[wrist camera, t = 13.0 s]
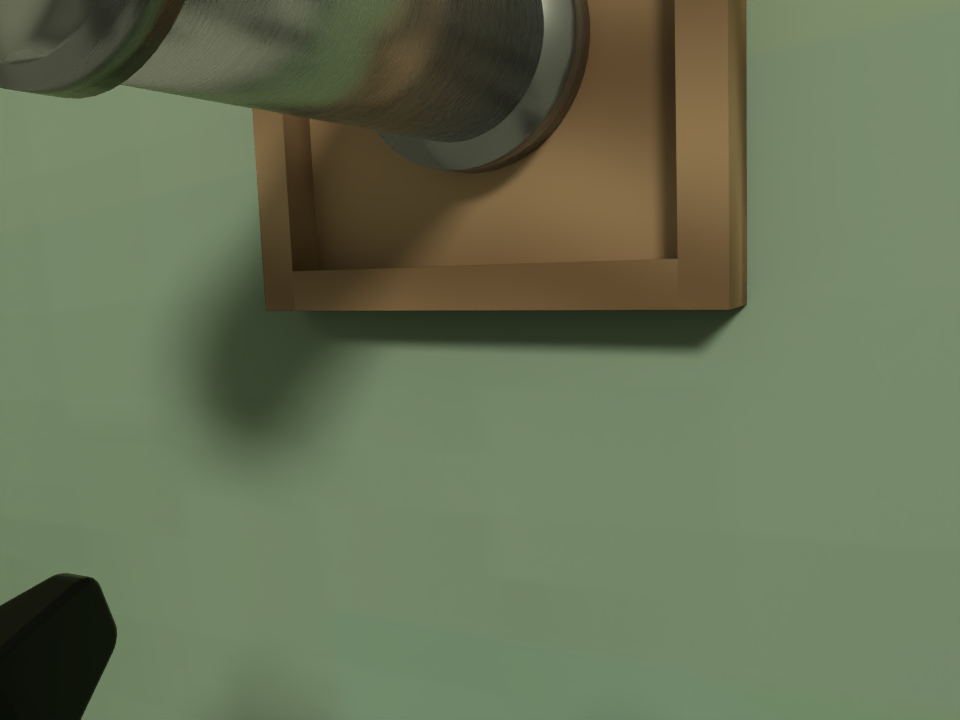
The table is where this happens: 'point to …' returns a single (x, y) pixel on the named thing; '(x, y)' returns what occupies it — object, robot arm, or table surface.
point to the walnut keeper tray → (535, 191)
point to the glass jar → (325, 63)
